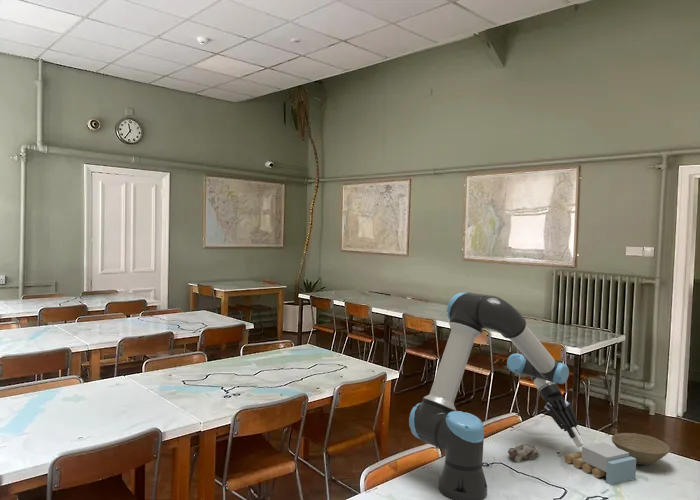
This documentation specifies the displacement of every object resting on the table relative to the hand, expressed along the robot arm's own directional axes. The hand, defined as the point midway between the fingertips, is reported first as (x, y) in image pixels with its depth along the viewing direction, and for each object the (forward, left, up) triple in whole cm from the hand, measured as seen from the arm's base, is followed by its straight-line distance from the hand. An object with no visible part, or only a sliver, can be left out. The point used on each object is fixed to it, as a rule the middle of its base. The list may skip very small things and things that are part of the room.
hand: (580, 445), depth 188 cm
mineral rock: (-17, +11, -6) cm, 21 cm away
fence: (0, -16, -6) cm, 17 cm away
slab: (0, -10, -3) cm, 10 cm away
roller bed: (0, -5, -6) cm, 8 cm away
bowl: (+20, -9, -6) cm, 23 cm away
